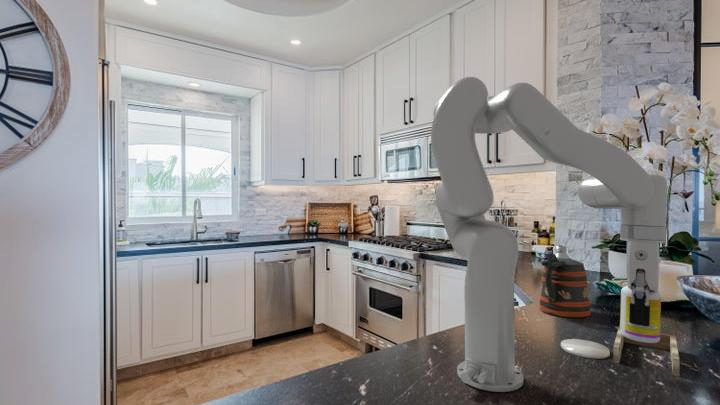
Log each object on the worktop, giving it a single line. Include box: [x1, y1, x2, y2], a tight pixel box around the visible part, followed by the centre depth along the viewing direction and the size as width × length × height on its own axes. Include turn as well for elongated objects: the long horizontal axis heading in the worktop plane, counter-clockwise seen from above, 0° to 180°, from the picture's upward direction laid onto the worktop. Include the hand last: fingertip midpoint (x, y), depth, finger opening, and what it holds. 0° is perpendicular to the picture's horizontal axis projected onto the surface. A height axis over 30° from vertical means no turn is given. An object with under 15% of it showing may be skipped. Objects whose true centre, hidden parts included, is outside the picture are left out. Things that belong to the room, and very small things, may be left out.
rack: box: [612, 325, 680, 377], centre depth 84 cm, size 17×11×4 cm, turn 141°
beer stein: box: [538, 252, 592, 319], centre depth 118 cm, size 19×15×20 cm
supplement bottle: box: [619, 275, 662, 343], centre depth 76 cm, size 7×7×13 cm
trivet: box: [560, 338, 611, 360], centre depth 88 cm, size 10×10×1 cm
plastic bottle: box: [554, 245, 570, 259], centre depth 132 cm, size 6×7×20 cm
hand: (639, 319), depth 76 cm, fingers closed on supplement bottle, 6 cm apart
